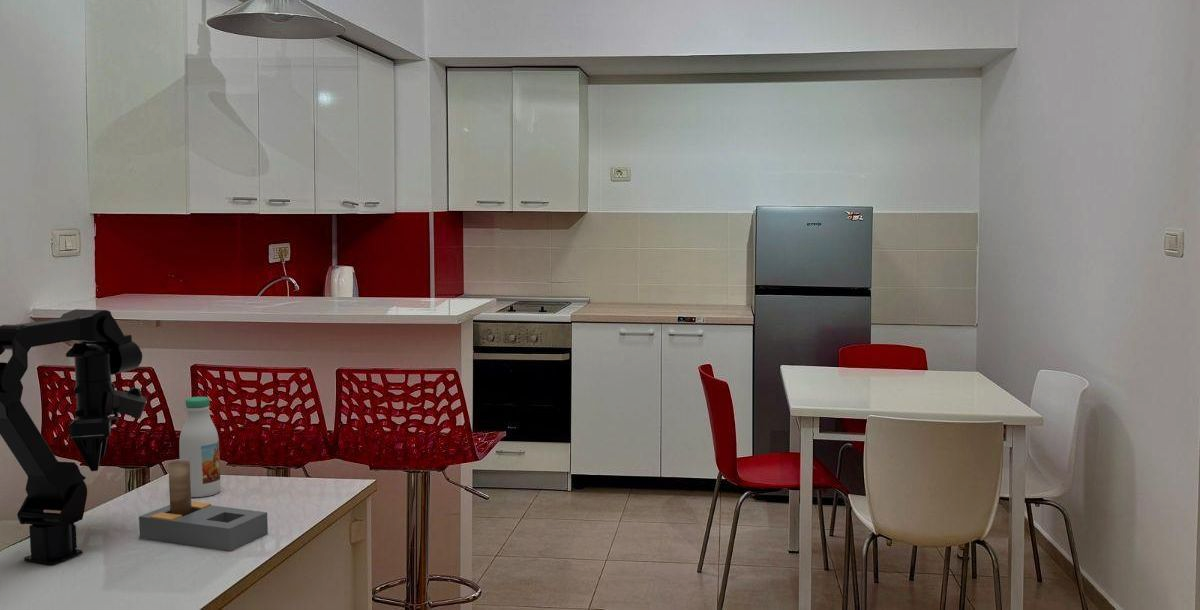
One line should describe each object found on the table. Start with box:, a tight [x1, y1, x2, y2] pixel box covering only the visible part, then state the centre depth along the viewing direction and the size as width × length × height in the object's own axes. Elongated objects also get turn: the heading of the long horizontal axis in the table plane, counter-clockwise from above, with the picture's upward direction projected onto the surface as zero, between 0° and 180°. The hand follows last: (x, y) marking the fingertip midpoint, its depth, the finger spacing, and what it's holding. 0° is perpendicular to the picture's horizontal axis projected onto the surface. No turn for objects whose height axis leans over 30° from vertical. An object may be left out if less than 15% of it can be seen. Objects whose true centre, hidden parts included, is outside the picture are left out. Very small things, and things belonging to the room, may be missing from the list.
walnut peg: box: [167, 460, 192, 517], centre depth 187 cm, size 4×4×13 cm
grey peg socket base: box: [138, 500, 269, 552], centre depth 185 cm, size 20×10×4 cm, turn 70°
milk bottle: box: [178, 396, 222, 498], centre depth 212 cm, size 8×8×20 cm
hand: (97, 464), depth 185 cm, fingers open, 9 cm apart
